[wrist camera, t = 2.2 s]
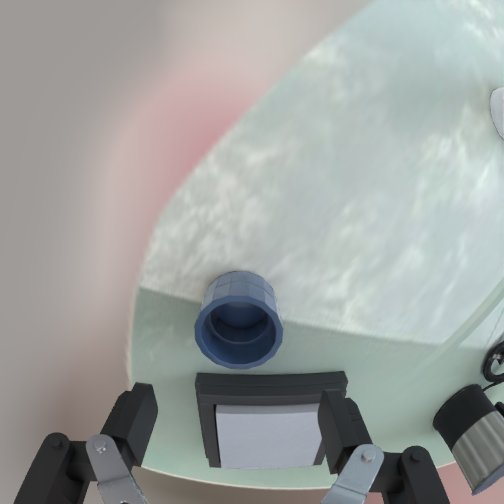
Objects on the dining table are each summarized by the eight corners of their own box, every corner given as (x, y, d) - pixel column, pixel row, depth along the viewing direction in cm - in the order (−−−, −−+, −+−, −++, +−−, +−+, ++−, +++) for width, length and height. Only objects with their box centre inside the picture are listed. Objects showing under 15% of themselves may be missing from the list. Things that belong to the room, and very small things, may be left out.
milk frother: (425, 437, 30) (462, 505, 15) (449, 362, 25) (515, 443, 11) (490, 401, 29) (531, 453, 15) (517, 325, 25) (580, 376, 11)
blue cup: (206, 331, 23) (197, 367, 19) (203, 268, 22) (192, 294, 17) (273, 333, 24) (279, 369, 19) (277, 269, 22) (285, 296, 17)
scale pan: (221, 458, 25) (221, 468, 24) (216, 402, 23) (215, 413, 21) (310, 456, 25) (312, 465, 24) (327, 400, 23) (330, 410, 21)
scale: (207, 448, 28) (205, 467, 25) (197, 372, 25) (192, 393, 22) (321, 446, 28) (325, 464, 25) (344, 370, 25) (352, 390, 22)
